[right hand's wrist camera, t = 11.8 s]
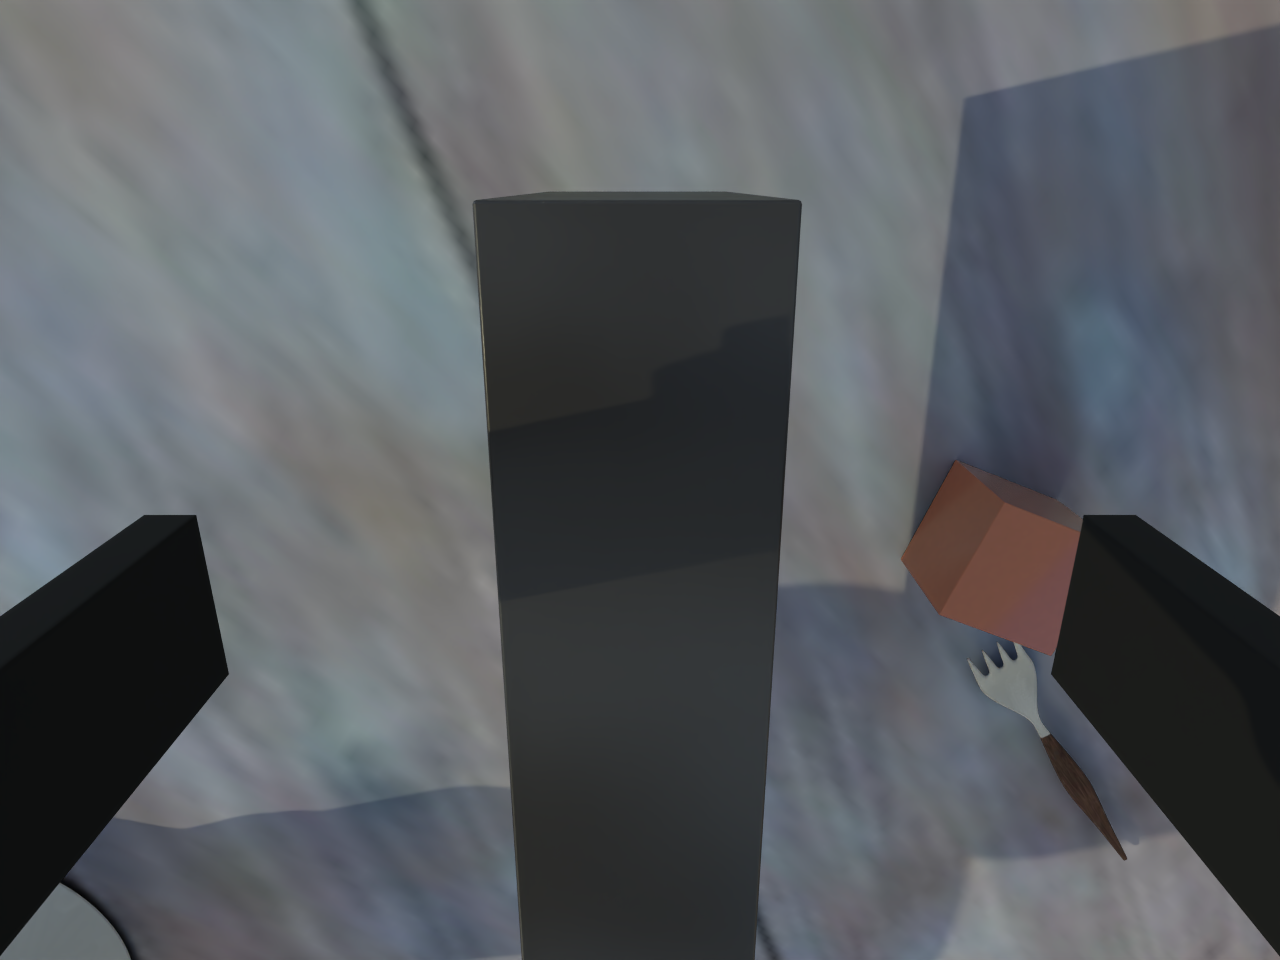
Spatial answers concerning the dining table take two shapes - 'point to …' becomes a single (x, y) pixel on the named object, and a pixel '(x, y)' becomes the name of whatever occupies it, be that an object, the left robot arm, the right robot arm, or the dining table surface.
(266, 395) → the dining table surface
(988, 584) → the terracotta block
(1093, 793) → the fork
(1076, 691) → the right robot arm
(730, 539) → the bar
